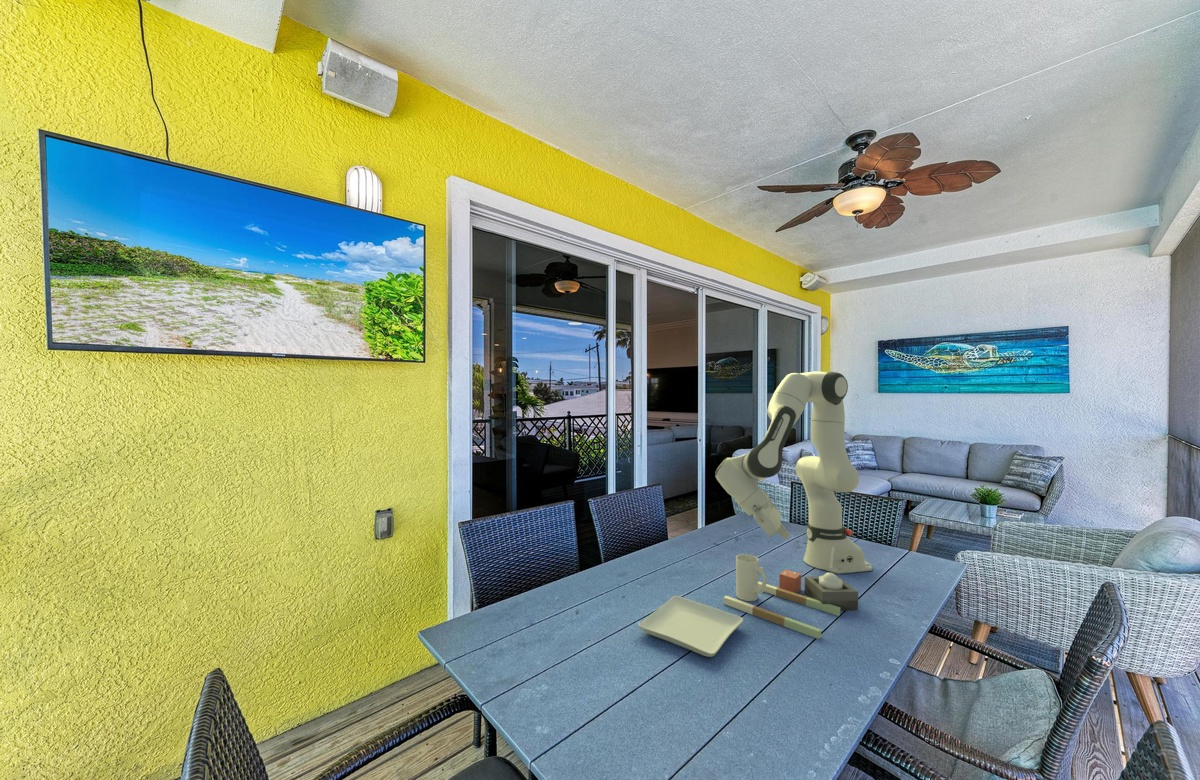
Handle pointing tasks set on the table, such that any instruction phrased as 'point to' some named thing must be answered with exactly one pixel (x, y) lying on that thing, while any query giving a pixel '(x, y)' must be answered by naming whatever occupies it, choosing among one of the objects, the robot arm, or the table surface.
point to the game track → (782, 619)
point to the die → (790, 581)
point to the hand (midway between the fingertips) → (787, 537)
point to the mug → (748, 577)
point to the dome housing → (832, 594)
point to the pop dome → (830, 581)
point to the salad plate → (691, 625)
